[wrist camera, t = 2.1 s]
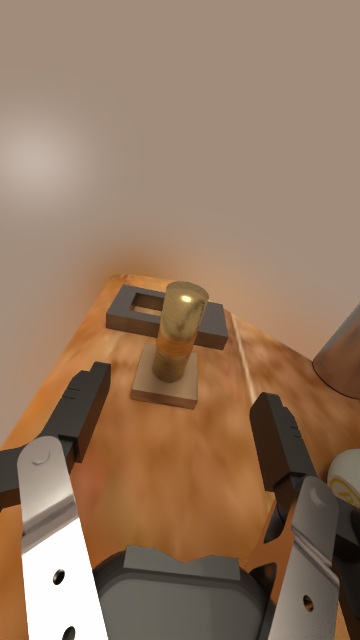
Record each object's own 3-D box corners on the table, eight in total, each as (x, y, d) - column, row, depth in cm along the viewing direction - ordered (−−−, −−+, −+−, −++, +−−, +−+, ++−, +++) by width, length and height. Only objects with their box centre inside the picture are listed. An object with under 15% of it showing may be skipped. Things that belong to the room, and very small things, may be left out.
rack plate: (217, 316, 46) (222, 303, 44) (222, 349, 37) (228, 336, 36) (122, 297, 44) (123, 283, 42) (106, 327, 36) (106, 312, 34)
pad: (194, 362, 34) (197, 353, 33) (193, 409, 27) (197, 400, 26) (143, 352, 33) (144, 343, 32) (130, 398, 27) (131, 389, 26)
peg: (185, 359, 31) (207, 286, 24) (183, 385, 28) (209, 308, 21) (154, 354, 31) (168, 278, 24) (149, 379, 27) (163, 299, 20)
